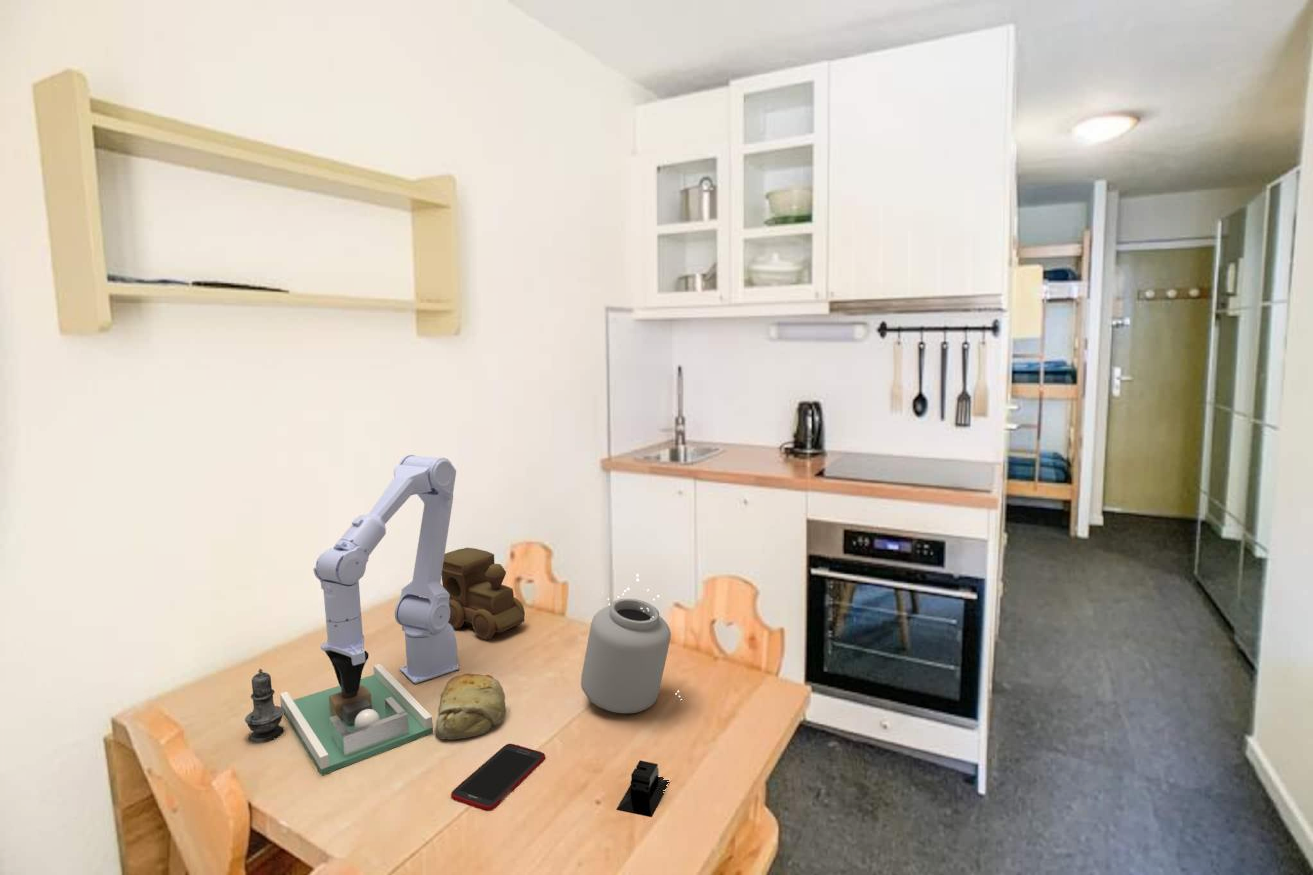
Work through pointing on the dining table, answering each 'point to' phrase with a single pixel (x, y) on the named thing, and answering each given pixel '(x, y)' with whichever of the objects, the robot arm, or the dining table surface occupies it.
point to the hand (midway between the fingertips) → (349, 688)
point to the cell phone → (497, 777)
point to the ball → (366, 718)
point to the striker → (350, 703)
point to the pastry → (469, 706)
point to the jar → (625, 656)
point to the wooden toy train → (479, 593)
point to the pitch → (314, 724)
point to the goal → (370, 730)
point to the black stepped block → (643, 790)
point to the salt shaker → (264, 711)
